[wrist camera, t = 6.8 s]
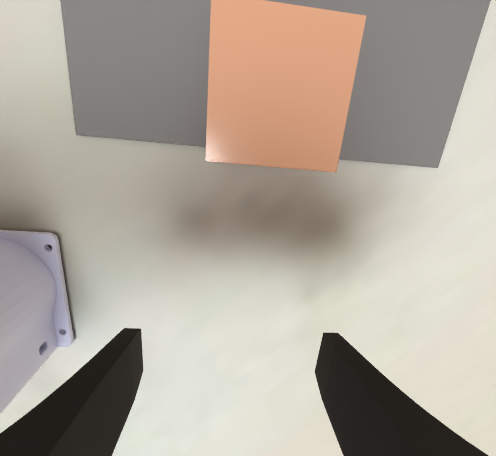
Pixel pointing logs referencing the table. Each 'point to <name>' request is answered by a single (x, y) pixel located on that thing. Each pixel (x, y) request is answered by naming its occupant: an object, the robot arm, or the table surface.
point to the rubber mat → (197, 66)
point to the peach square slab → (279, 83)
